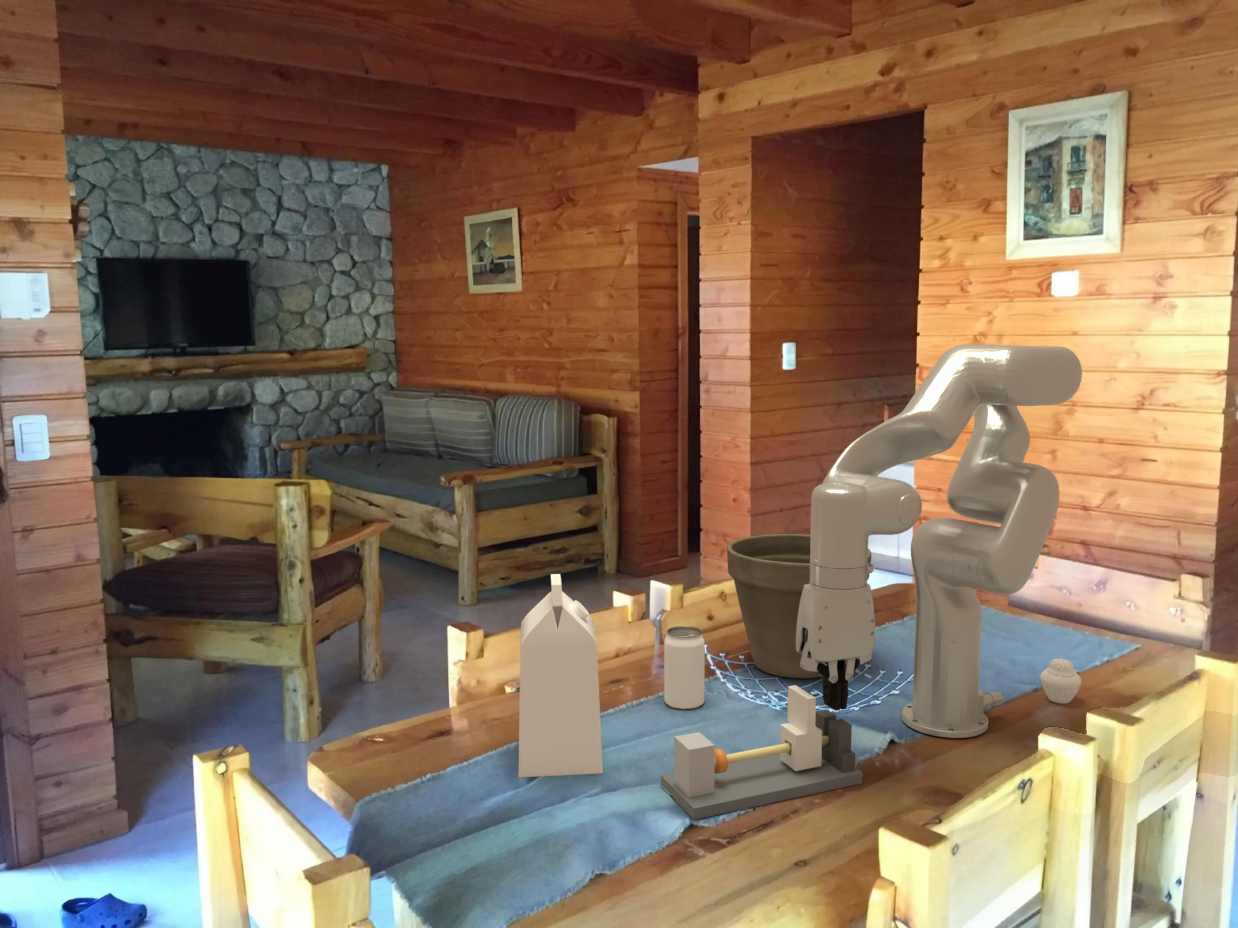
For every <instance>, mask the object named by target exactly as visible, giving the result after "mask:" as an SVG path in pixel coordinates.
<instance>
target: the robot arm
mask: <svg viewBox="0 0 1238 928" xmlns="http://www.w3.org/2000/svg"><path fill="white" fill-rule="evenodd" d="M1082 376H1083V369H1082V364H1081V361H1080V358H1078V356H1077V355H1076V353H1075V352H1074V351H1072V350H1071V349H1070V348H1068V347H1065V346H1054V345H1053V346H1052V345H1051V346H1046V345H1043V346H1042V345H1011V344H1010V345H1009V344H1008V345H1007V344H1005V345H1004V344H998V345H997V344H959V345H955V346H953V347H951V348H949V349H947V350H946V351H945V352H943V354H942V355H941V356H940V357H939V358H938V360H937V361H936V362H935V364H934V366H932V368H931V370H930V371H929V372H928V374H927V375H926V377H925V379H923V381H922V383H921V384H920V386H919V387H918V389H917V390H916V391H915V393H914V394H913V395H912V397H911V398H910V400H909V401H908V403H907V404H906V406H905V407H904V409H903V410H902V411H901V412H900V413H898V414H897V415H895V416H893V417H891V418H889V419H887V420H885V421H884V422H882V423H880V424H878V425H877V426H875V427H874V428H872V429H871V430H868V431H867V432H866V433H864V434H862V435H860V436H859V437H857V438H856V439H855V440H853V441H852V442H851V443H850V444H849V445H848V446H847V447H846V448H845V449H844V450H843V451H842V453H841V454H840V455H839V457H838V458H837V459H836V460H835V462H834V463H833V465H832V466H831V468H830V469H829V471H828V472H827V474H826V476H825V478H824V479H823V481H822V484H821V483H820V484H818V485H817V486H815V487H814V488H813V490H812V493H811V499H810V500H811V501H810V503H811V504H810V505H811V506H810V535H811V540H810V584H806V585H804V588H803V591H802V595H801V599H800V605H799V611H798V619H797V629H796V651H797V652H798V653H800V654H802V657H801V662H800V667H802V668H803V669H805V670H807V671H817V672H818V673H819V675H820V676H821V677H822V700H823V704H825V705H826V706H827V707H829V708H830V709H832V710H833V711H835V712H837V711H840V710H847V708H848V699H849V681H851V680H852V679H853V675H854V672H855V671H856V670H857V668H858V667H859V666H860V665H862V664H864V663H867V662H869V661H871V660H872V652H873V651H874V649H875V643H876V639H875V638H876V622H875V621H876V619H875V618H876V617H875V616H876V615H875V608H874V607H875V606H874V599H873V593H872V589H871V588H872V587H871V585H870V584H869V583H868V580H867V574H869V575H870V574H873V573H874V566H873V564H872V563H869V564H868V549H869V538H870V536H874V535H875V536H879V535H882V536H883V535H885V536H892V535H900V534H903V533H905V532H907V531H909V530H910V529H911V528H913V527H914V526H915V525H916V524H917V522H918V520H919V519H920V517H921V514H922V509H923V503H922V499H921V495H920V494H919V492H918V491H917V489H916V488H915V487H913V486H912V484H909V483H907V482H905V481H902V480H899V479H894V478H889V477H881V476H879V475H880V474H883V472H885V471H887V470H889V469H891V468H893V467H896V466H898V465H902V464H905V463H909V462H915V461H917V460H922V459H926V458H929V457H933V456H936V455H939V454H942V453H944V452H946V451H948V450H950V449H951V448H952V447H953V446H954V445H955V444H956V442H957V440H958V439H959V437H960V436H961V434H962V433H963V431H964V430H965V428H966V427H967V425H968V423H969V422H970V420H971V419H972V418H973V416H974V419H973V420H974V423H973V429H972V433H971V434H970V437H969V440H968V442H967V444H966V447H965V449H964V450H963V453H962V455H961V458H960V459H959V462H958V463H957V466H956V467H955V470H954V472H953V475H952V477H951V480H950V482H949V484H948V488H947V492H946V493H947V494H946V500H947V504H948V506H949V508H950V509H951V510H952V511H953V512H954V513H956V514H957V515H960V516H962V517H965V518H968V519H972V520H976V521H980V522H981V521H982V522H986V523H993V524H999V525H1000V526H995V525H989V524H985V523H984V524H983V523H979V522H975V521H968V520H963V519H956V518H953V517H952V518H951V517H950V518H949V517H936V518H935V517H934V518H931V519H930V518H929V519H928V520H926V521H923V523H920V525H919V526H918V527H917V528H916V530H915V531H914V533H913V535H912V538H911V542H910V558H911V559H910V560H911V564H912V565H911V566H912V570H913V577H914V583H915V625H914V648H913V649H914V651H913V652H914V653H913V677H912V678H913V680H912V681H913V683H912V702H910V703H908V704H906V705H905V706H903V708H902V709H901V719H902V721H903V723H904V724H905V725H906V726H908V727H910V728H911V729H913V730H914V731H915V730H916V731H917V732H920V733H922V734H926V735H930V736H933V737H939V738H949V739H964V738H965V739H966V738H973V737H976V736H979V735H981V734H983V733H984V732H985V733H986V731H987V730H988V728H989V719H988V716H987V715H986V713H984V710H986V709H988V707H994V706H998V705H999V706H1000V705H1002V704H1003V702H1004V697H1003V695H1002V694H1001V693H1000V692H999V691H994V692H989V693H986V694H985V692H984V691H983V689H980V675H981V674H980V671H981V670H980V669H981V649H982V648H981V647H982V630H983V629H982V628H983V613H982V607H981V603H980V600H979V597H978V595H977V593H976V591H975V590H977V591H982V592H985V593H990V594H995V595H1000V596H1010V595H1014V594H1015V593H1019V592H1020V591H1021V590H1022V589H1023V587H1024V586H1025V585H1026V584H1027V582H1028V581H1029V579H1030V577H1031V575H1032V573H1033V571H1034V568H1035V567H1036V564H1037V563H1038V559H1039V556H1040V554H1041V552H1042V549H1043V547H1044V545H1045V544H1046V540H1047V539H1048V536H1049V533H1050V532H1051V531H1050V530H1051V528H1052V527H1053V523H1054V521H1055V519H1056V515H1057V514H1058V513H1057V512H1058V509H1059V505H1060V486H1059V482H1058V479H1057V477H1056V475H1055V474H1054V473H1053V472H1052V471H1051V470H1050V469H1048V468H1047V467H1046V466H1042V465H1040V464H1036V463H1030V462H1024V460H1025V459H1026V457H1027V456H1026V455H1027V453H1028V451H1029V447H1030V443H1031V436H1030V431H1029V428H1028V426H1027V423H1026V422H1025V419H1024V418H1023V416H1022V414H1021V412H1020V410H1019V408H1018V407H1022V406H1023V407H1038V406H1056V405H1061V404H1064V403H1066V402H1068V401H1069V400H1071V399H1072V398H1073V397H1074V396H1075V394H1076V393H1077V392H1078V390H1079V388H1080V385H1081V383H1082V378H1083V377H1082Z"/></svg>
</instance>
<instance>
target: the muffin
mask: <svg viewBox="0 0 1238 928" xmlns="http://www.w3.org/2000/svg"><path fill="white" fill-rule="evenodd" d="M1074 667H1075V666H1074V664H1073V663H1072V662H1071V661H1070V660H1068V659H1065V658H1054V659H1052V660H1051V661H1050V662H1049V666H1047V667H1046V669H1043V670H1042V672H1040V674H1039V675H1040V676H1039V679H1040V682H1041V687H1043V690H1044V691H1045V694H1046V696H1047V699H1048V700H1049V701H1051V702H1053V703H1055V704H1069V703H1071V702H1072V700H1073V699H1074V697H1075V696H1076V695H1077V693H1078V692H1079V690H1080V687H1081V685H1082V678H1081V676H1080V675H1079V674H1078V673H1077V672H1076V670H1075V669H1074Z"/></svg>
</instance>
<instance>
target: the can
mask: <svg viewBox="0 0 1238 928" xmlns="http://www.w3.org/2000/svg"><path fill="white" fill-rule="evenodd" d="M702 633H703V631H702V630H701V629H700V628H699V627H695V626H690V625H677V626H673V627H670V628H668V629H667V630H666V635H665V638H664V644H663V645H664V646H663V647H664V648H663V649H664V650H663V653H664V654H663V656H664V657H663V666H664V667H663V668H664V669H663V673H664V674H663V675H664V676H663V677H664V678H663V680H664V684H663V685H664V686H663V687H664V691H663V692H664V702H665V703H666V705H667V706H669V707H670V708H672V709H677V710H683V711H684V710H687V709H688V710H695V709H697V708H699V707H701V706H702V705H703V704H704V703H705V673H706V672H705V665H706V663H705V653H706V651H705V639H704V637H703V635H702Z"/></svg>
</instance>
